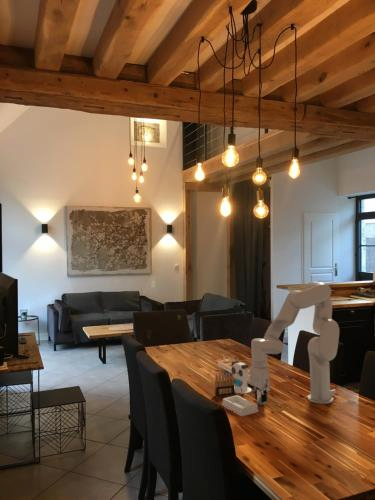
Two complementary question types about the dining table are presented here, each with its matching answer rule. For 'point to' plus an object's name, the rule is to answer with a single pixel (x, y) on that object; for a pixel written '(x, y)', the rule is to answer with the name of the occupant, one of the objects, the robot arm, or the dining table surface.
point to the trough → (240, 405)
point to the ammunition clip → (224, 385)
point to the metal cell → (259, 397)
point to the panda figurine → (240, 377)
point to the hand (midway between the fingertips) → (261, 400)
